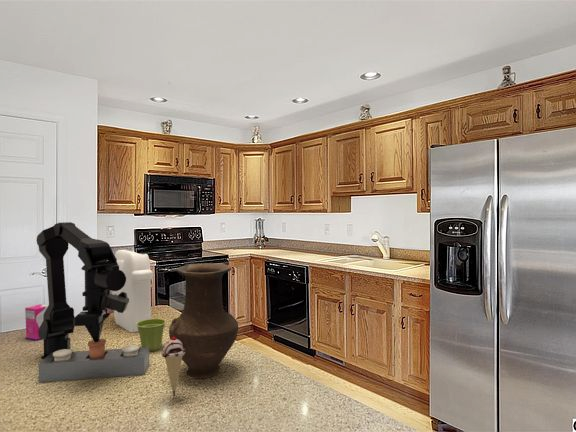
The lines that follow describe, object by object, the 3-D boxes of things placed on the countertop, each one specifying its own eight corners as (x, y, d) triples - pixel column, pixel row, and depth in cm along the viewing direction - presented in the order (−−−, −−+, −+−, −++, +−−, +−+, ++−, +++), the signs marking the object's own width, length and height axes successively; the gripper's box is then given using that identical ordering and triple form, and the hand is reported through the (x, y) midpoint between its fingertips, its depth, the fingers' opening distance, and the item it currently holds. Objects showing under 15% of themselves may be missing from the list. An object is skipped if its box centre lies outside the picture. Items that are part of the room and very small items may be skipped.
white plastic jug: (102, 321, 159) (101, 249, 159) (129, 316, 167) (129, 247, 166) (126, 338, 139) (126, 255, 139) (156, 331, 147) (156, 252, 146)
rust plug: (85, 367, 107) (85, 344, 107) (91, 361, 112) (90, 339, 112) (103, 366, 108) (103, 343, 108) (108, 359, 113) (107, 338, 112)
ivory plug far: (120, 373, 109) (120, 351, 109) (124, 366, 113) (123, 345, 113) (137, 372, 110) (137, 349, 110) (140, 365, 114) (140, 344, 114)
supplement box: (41, 334, 144) (41, 303, 144) (51, 336, 141) (51, 305, 141) (25, 339, 139) (24, 307, 138) (35, 341, 136) (35, 308, 136)
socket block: (38, 382, 104) (38, 364, 103) (51, 370, 111) (51, 353, 111) (144, 374, 108) (144, 356, 108) (149, 363, 116) (149, 346, 116)
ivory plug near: (50, 378, 106) (50, 355, 105) (57, 371, 110) (56, 349, 110) (68, 377, 106) (68, 354, 106) (74, 370, 111) (74, 348, 111)
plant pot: (147, 355, 122) (146, 328, 122) (130, 349, 128) (130, 323, 128) (172, 347, 130) (171, 321, 130) (155, 341, 135) (155, 317, 135)
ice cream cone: (172, 405, 91) (172, 342, 91) (156, 398, 94) (155, 337, 94) (190, 395, 96) (190, 335, 96) (174, 389, 99) (174, 331, 99)
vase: (164, 389, 99) (163, 273, 99) (174, 360, 118) (173, 262, 118) (239, 384, 102) (239, 271, 102) (237, 356, 121) (237, 261, 121)
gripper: (118, 292, 102) (118, 351, 102) (133, 279, 120) (133, 329, 120) (72, 294, 100) (72, 354, 100) (94, 281, 118) (95, 331, 118)
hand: (96, 341), depth 110 cm, fingers closed, pressing on rust plug
